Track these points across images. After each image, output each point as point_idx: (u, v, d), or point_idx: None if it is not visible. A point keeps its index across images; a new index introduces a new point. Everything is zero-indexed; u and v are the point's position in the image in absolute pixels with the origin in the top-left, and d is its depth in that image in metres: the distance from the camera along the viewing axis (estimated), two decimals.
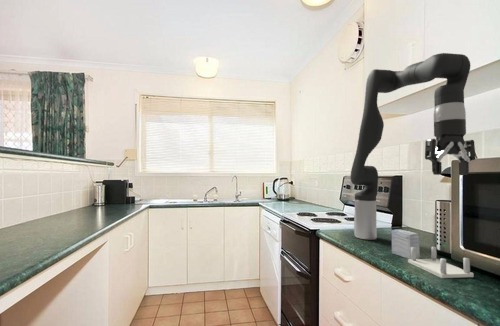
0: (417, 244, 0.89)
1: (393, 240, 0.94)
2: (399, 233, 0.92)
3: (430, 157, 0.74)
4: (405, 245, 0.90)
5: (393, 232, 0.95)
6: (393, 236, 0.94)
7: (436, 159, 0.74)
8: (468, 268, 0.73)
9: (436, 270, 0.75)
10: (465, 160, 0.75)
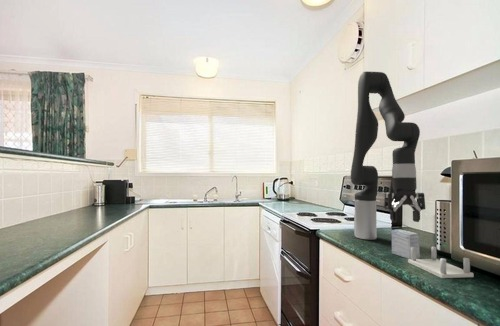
0: (417, 244, 0.89)
1: (393, 240, 0.94)
2: (399, 233, 0.92)
3: (387, 208, 0.91)
4: (405, 245, 0.90)
5: (393, 232, 0.95)
6: (393, 236, 0.94)
7: (392, 209, 0.91)
8: (468, 268, 0.73)
9: (436, 270, 0.75)
10: (417, 210, 0.92)
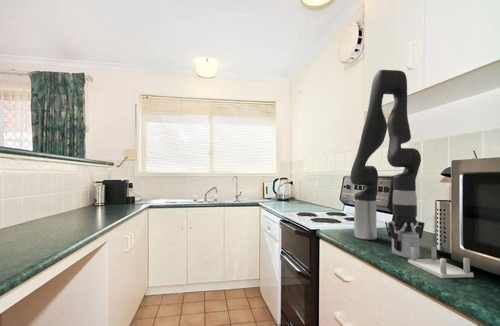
0: (417, 244, 0.89)
1: (393, 240, 0.94)
2: None
3: (392, 237, 0.91)
4: (405, 245, 0.90)
5: None
6: None
7: (397, 239, 0.91)
8: (468, 268, 0.73)
9: (436, 270, 0.75)
10: None
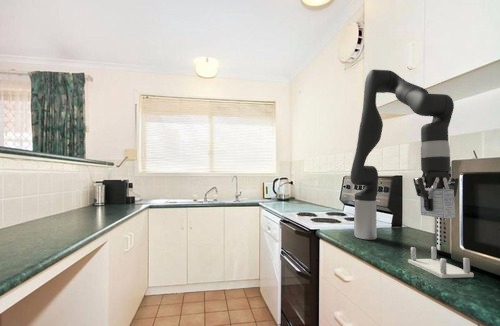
0: (452, 201, 0.77)
1: (422, 200, 0.82)
2: None
3: (422, 194, 0.79)
4: (438, 203, 0.77)
5: None
6: None
7: (427, 197, 0.79)
8: (468, 268, 0.73)
9: (436, 270, 0.75)
10: None
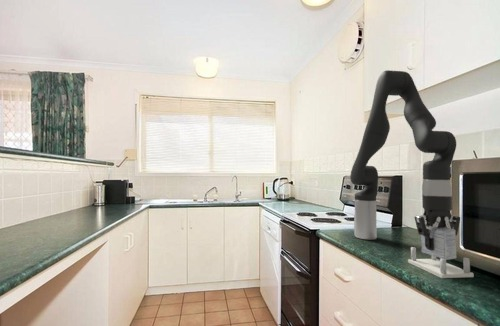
0: (454, 242, 0.76)
1: (423, 237, 0.82)
2: None
3: (423, 234, 0.78)
4: (439, 243, 0.77)
5: None
6: None
7: (429, 236, 0.78)
8: (468, 268, 0.73)
9: (436, 270, 0.75)
10: None
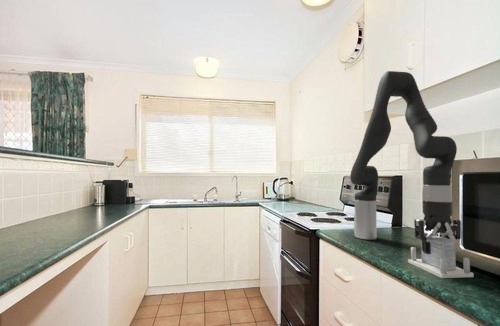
0: (453, 252, 0.76)
1: None
2: None
3: (420, 238, 0.78)
4: (437, 254, 0.77)
5: None
6: None
7: (425, 240, 0.78)
8: (468, 268, 0.73)
9: (436, 270, 0.75)
10: (451, 239, 0.79)
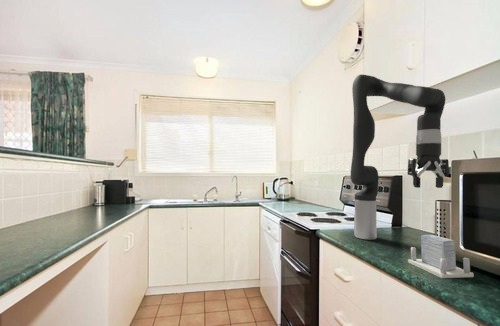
0: (453, 252, 0.76)
1: (423, 247, 0.82)
2: (430, 239, 0.79)
3: (411, 173, 0.92)
4: (437, 254, 0.77)
5: (423, 238, 0.82)
6: (423, 242, 0.82)
7: (416, 175, 0.92)
8: (468, 268, 0.73)
9: (436, 270, 0.75)
10: (440, 176, 0.92)
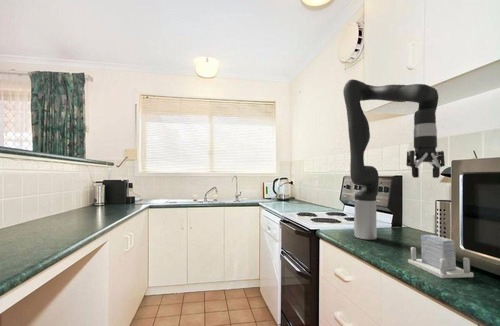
0: (453, 252, 0.76)
1: (423, 247, 0.82)
2: (430, 239, 0.79)
3: (410, 164, 0.98)
4: (437, 254, 0.77)
5: (423, 238, 0.82)
6: (423, 242, 0.82)
7: (414, 166, 0.98)
8: (468, 268, 0.73)
9: (436, 270, 0.75)
10: (437, 166, 0.99)
